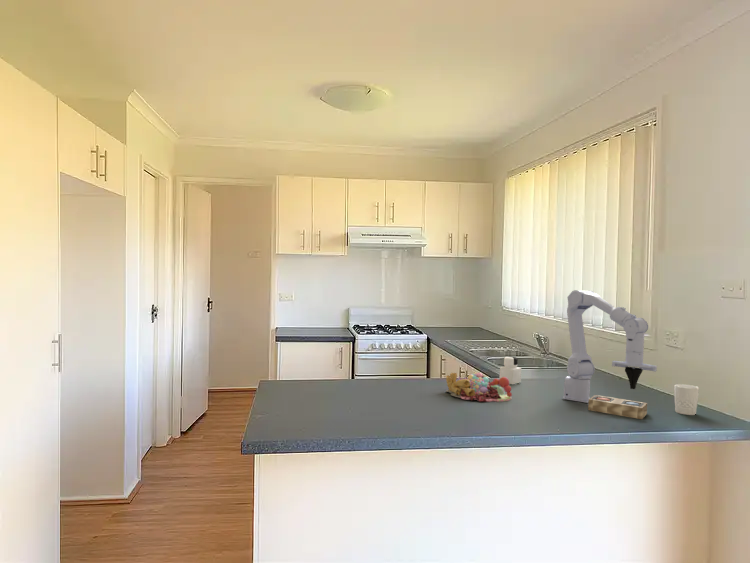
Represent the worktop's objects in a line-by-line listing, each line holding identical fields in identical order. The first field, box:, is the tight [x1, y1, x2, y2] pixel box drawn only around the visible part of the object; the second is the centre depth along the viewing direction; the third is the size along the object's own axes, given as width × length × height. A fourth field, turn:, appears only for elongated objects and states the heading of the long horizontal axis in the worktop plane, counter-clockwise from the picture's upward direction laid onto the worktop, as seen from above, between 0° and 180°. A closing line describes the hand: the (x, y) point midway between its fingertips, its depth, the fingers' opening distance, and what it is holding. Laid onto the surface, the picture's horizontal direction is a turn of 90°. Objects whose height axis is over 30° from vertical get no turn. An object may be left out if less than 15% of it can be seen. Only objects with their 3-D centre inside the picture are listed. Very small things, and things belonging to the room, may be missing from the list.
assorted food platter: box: [445, 371, 513, 403], centre depth 210 cm, size 25×24×9 cm
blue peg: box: [626, 402, 639, 406], centre depth 188 cm, size 4×4×4 cm
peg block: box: [587, 394, 648, 420], centre depth 191 cm, size 18×10×4 cm, turn 54°
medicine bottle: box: [498, 355, 522, 385], centre depth 238 cm, size 7×7×12 cm
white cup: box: [673, 383, 700, 416], centre depth 194 cm, size 8×8×10 cm
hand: (632, 388), depth 188 cm, fingers closed
